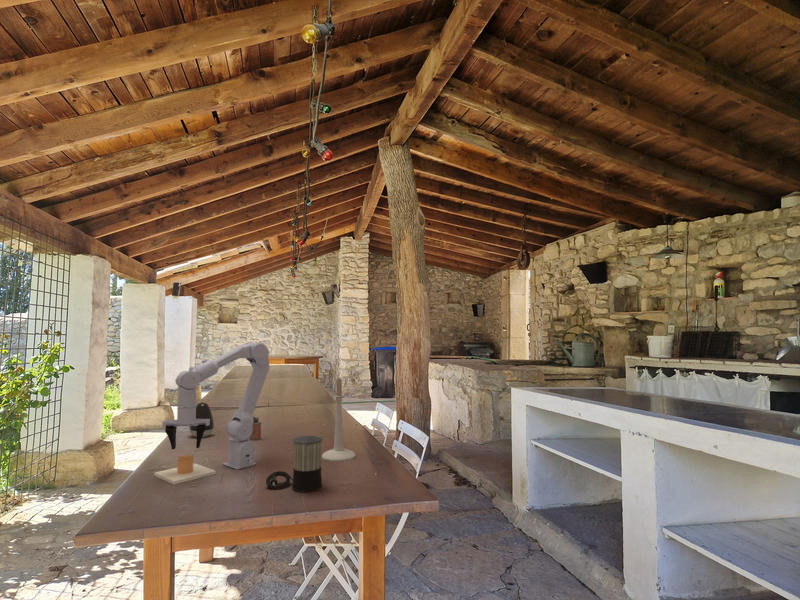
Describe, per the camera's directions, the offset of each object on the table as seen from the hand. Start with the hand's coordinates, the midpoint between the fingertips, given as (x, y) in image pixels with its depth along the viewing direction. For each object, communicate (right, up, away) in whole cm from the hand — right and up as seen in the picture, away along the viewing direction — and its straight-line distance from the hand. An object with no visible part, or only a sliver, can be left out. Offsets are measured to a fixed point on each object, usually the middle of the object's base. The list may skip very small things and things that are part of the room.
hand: (185, 448), depth 159 cm
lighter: (+7, -12, +50) cm, 52 cm away
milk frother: (+39, -8, -13) cm, 42 cm away
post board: (0, -9, -1) cm, 9 cm away
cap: (0, -8, 0) cm, 8 cm away
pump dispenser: (-18, -12, +56) cm, 60 cm away
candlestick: (+48, -10, +22) cm, 54 cm away
